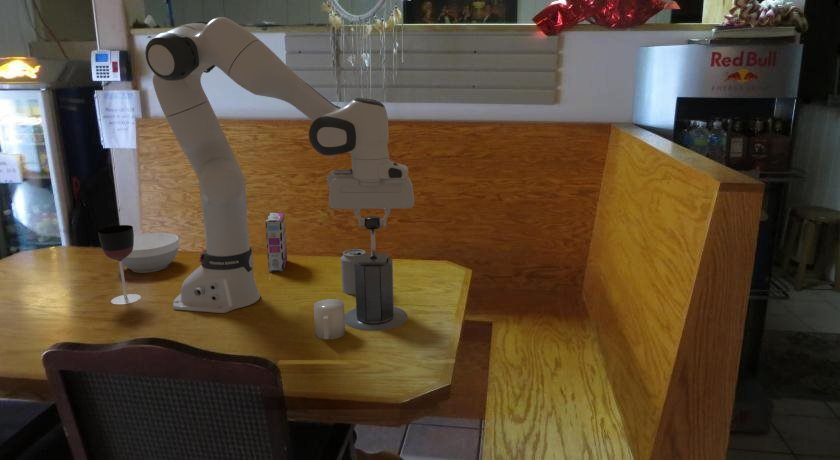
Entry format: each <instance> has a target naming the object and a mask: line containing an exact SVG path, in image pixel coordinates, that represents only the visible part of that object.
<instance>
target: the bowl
mask: <svg viewBox="0 0 840 460" xmlns="http://www.w3.org/2000/svg"><path fill="white" fill-rule="evenodd" d="M179 246H180V238H179V236H178V235H177V234H174V233H169V232H149V233H141V234H134V244H133V250H132V252H131V253H130V255H128V256H127V257H126V258H124V259H123V260H122V265H123V267H125V268H127V269H129V270H130V271H132V272H134V273H137V274H138V273H139V274H143V273H144V274H146V273H149V274H150V273H155V272H158V271H161V270H164V269H166V268H168V267H169V265H170V264H171V263H172V262H173V261H174V260H175V258H176V256H177V255H178V253H179Z"/></svg>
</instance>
